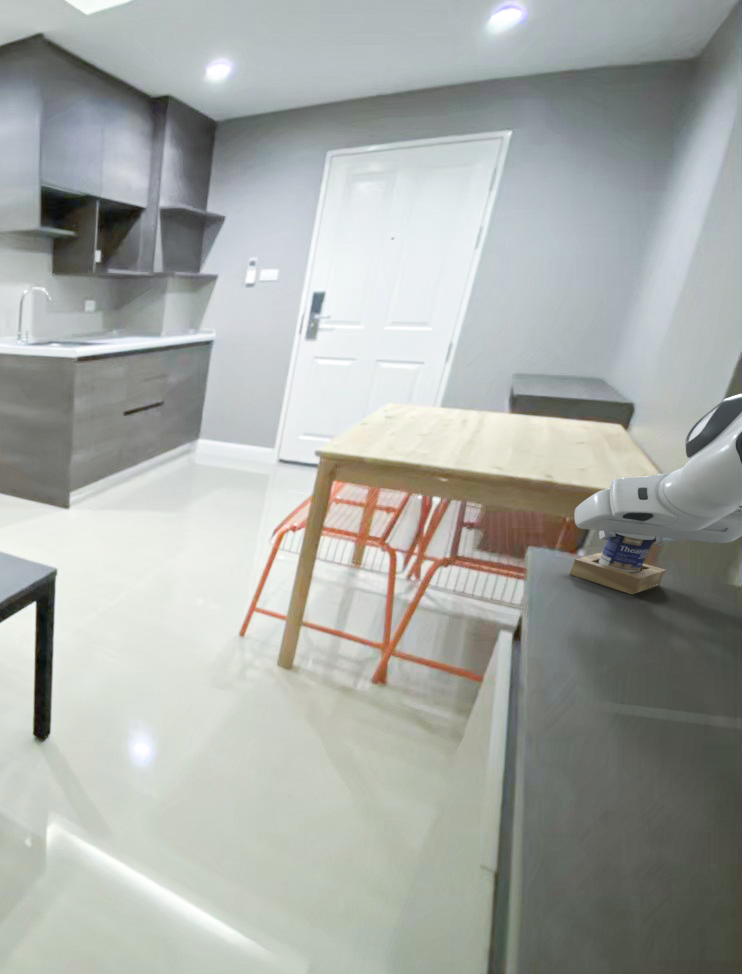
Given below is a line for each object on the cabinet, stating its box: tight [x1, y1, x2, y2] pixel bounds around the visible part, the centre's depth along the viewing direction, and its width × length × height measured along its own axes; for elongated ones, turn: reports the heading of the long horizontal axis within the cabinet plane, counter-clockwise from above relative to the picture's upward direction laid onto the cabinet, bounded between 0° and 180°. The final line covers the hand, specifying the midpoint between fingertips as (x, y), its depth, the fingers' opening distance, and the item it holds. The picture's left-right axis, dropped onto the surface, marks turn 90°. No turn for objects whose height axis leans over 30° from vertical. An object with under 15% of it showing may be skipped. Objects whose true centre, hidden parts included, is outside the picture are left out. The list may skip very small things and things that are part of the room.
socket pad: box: [569, 551, 667, 595], centre depth 108 cm, size 9×9×3 cm
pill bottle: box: [599, 532, 655, 573], centre depth 105 cm, size 5×5×10 cm
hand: (628, 538), depth 106 cm, fingers closed on pill bottle, 5 cm apart
